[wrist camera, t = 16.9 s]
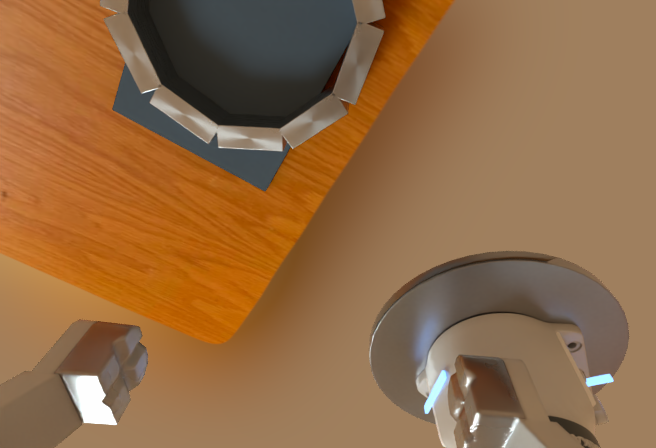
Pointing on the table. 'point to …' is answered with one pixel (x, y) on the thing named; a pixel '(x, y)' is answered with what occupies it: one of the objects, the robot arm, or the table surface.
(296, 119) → the ring
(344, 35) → the mat
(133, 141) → the table surface
